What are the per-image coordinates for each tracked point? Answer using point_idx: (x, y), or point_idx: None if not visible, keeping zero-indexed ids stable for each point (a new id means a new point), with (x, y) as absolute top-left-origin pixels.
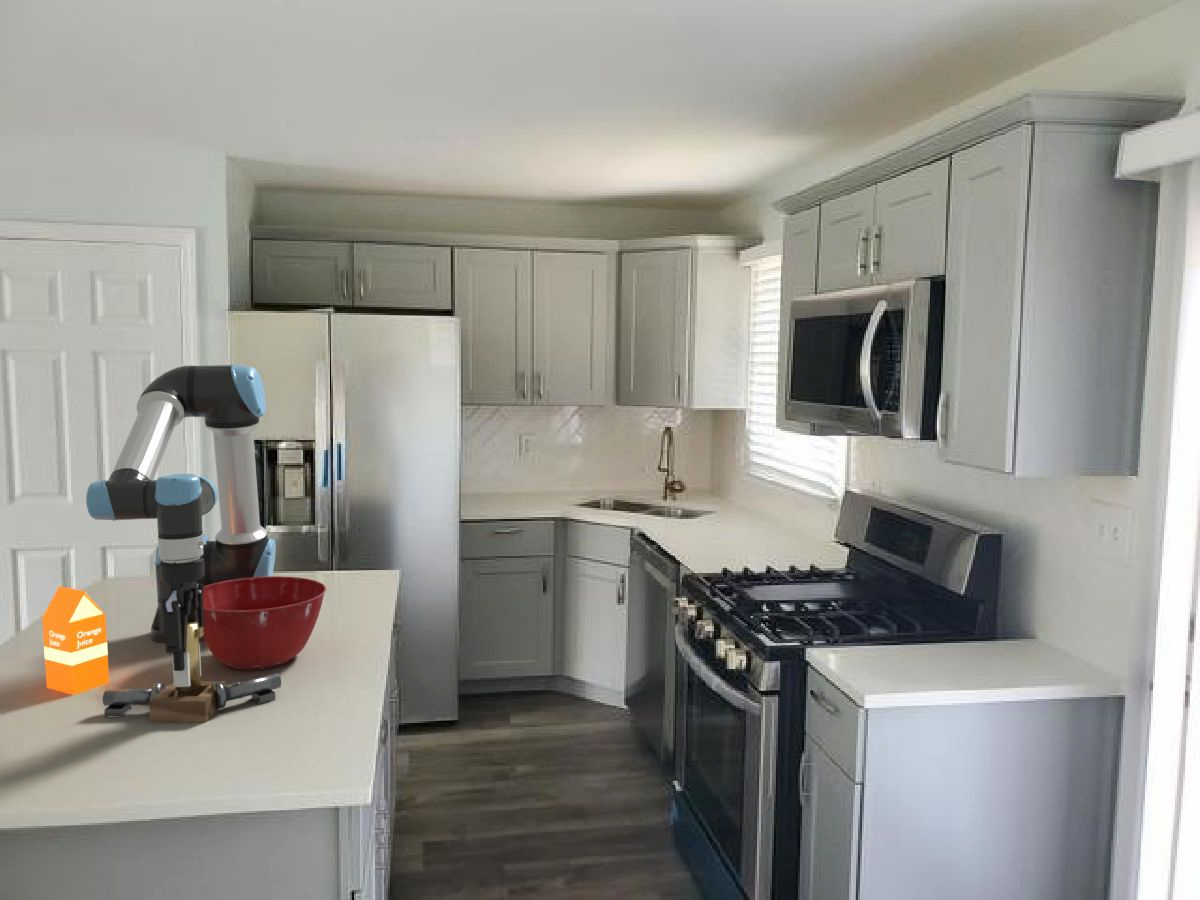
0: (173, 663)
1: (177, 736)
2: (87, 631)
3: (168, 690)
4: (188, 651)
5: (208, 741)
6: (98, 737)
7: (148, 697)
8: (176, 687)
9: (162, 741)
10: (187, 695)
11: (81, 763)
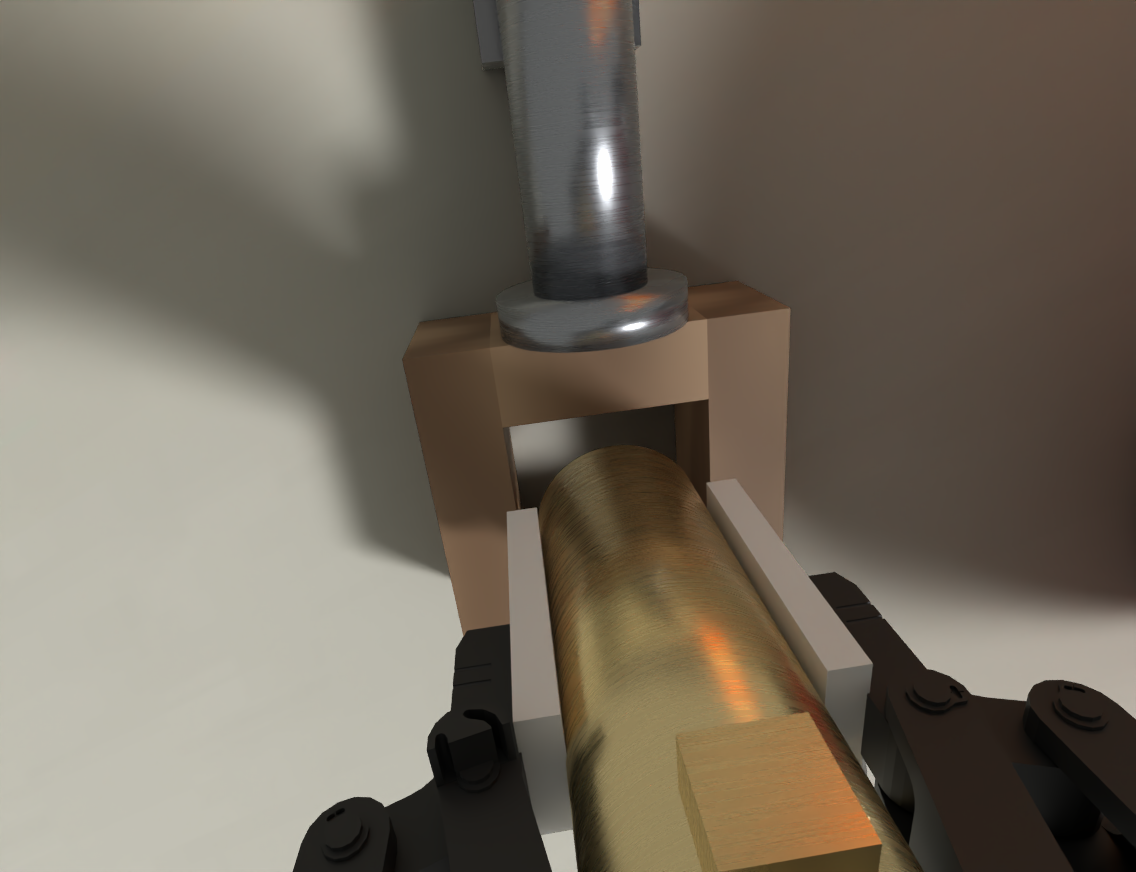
0: (511, 637)
1: (285, 550)
2: None
3: (620, 374)
4: (569, 827)
5: (269, 693)
6: (147, 116)
7: (531, 270)
8: (552, 492)
9: (211, 516)
10: (689, 422)
11: None
